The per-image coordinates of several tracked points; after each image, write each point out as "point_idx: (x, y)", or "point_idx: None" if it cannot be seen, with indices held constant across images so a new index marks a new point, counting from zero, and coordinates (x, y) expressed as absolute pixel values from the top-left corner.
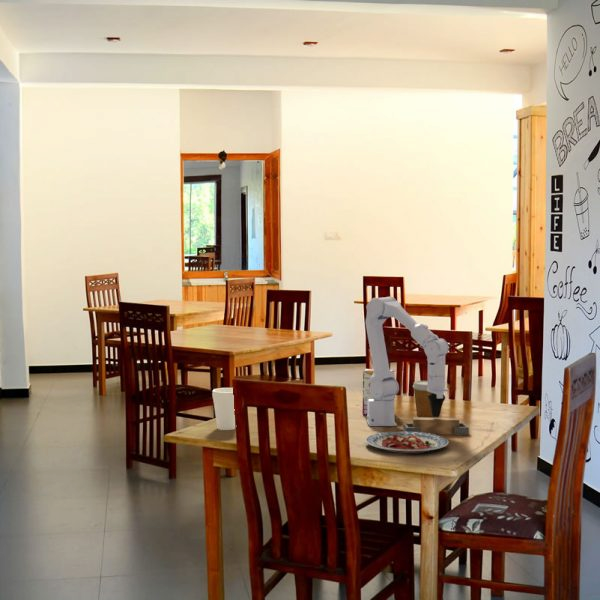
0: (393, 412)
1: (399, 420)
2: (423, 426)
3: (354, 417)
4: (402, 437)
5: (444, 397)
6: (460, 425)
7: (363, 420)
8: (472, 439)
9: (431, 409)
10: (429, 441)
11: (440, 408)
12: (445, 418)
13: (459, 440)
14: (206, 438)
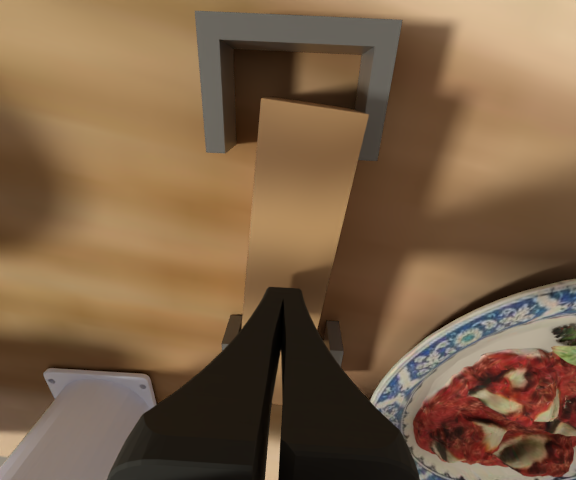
0: (89, 439)
1: (5, 340)
2: None
3: (10, 454)
4: (474, 426)
5: (415, 469)
6: (223, 61)
7: None
8: (532, 44)
9: (275, 379)
10: (524, 328)
11: (317, 336)
12: (281, 226)
13: (521, 154)
14: None
